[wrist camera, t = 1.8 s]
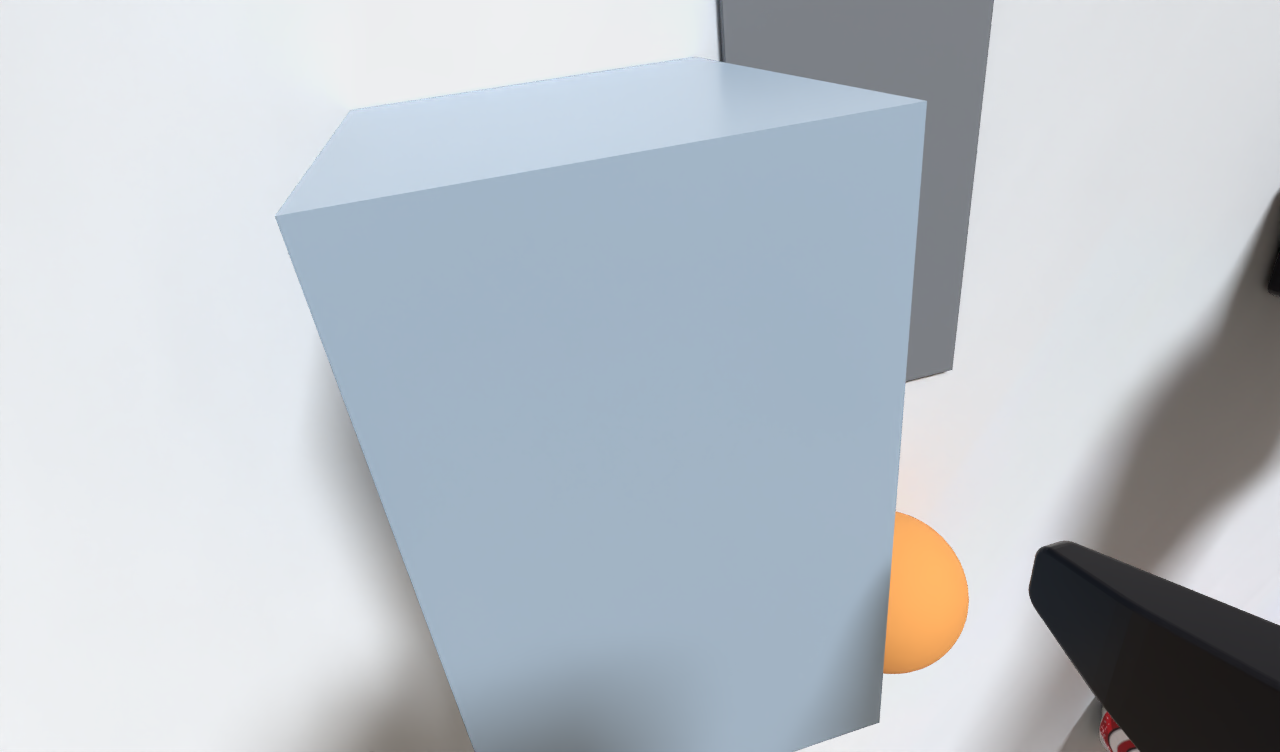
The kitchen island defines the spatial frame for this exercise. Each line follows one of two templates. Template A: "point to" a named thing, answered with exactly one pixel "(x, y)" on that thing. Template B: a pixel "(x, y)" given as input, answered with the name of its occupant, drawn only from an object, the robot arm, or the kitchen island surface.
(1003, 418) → the kitchen island surface
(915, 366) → the grey rectangular panel
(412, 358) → the light blue block
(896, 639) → the ball
